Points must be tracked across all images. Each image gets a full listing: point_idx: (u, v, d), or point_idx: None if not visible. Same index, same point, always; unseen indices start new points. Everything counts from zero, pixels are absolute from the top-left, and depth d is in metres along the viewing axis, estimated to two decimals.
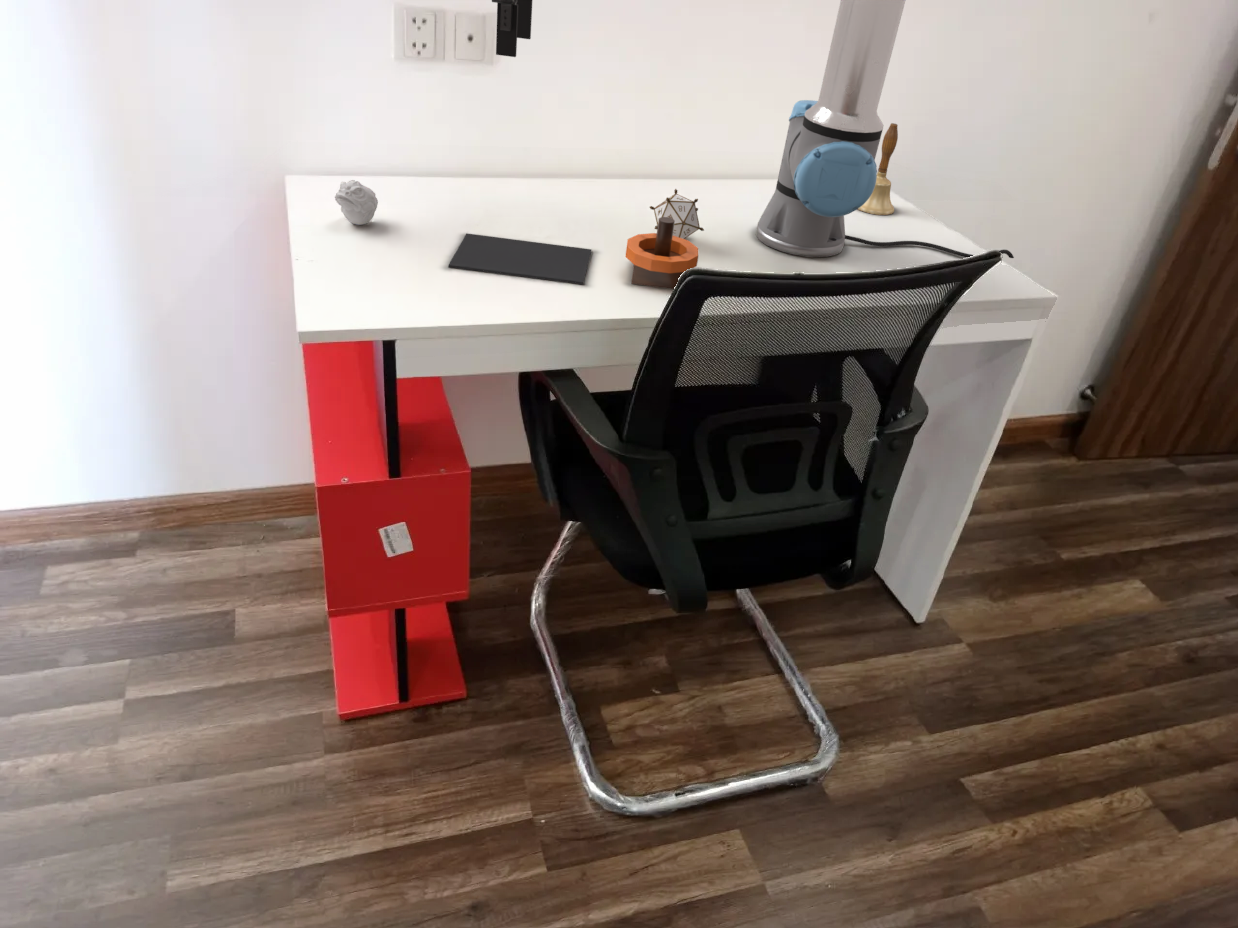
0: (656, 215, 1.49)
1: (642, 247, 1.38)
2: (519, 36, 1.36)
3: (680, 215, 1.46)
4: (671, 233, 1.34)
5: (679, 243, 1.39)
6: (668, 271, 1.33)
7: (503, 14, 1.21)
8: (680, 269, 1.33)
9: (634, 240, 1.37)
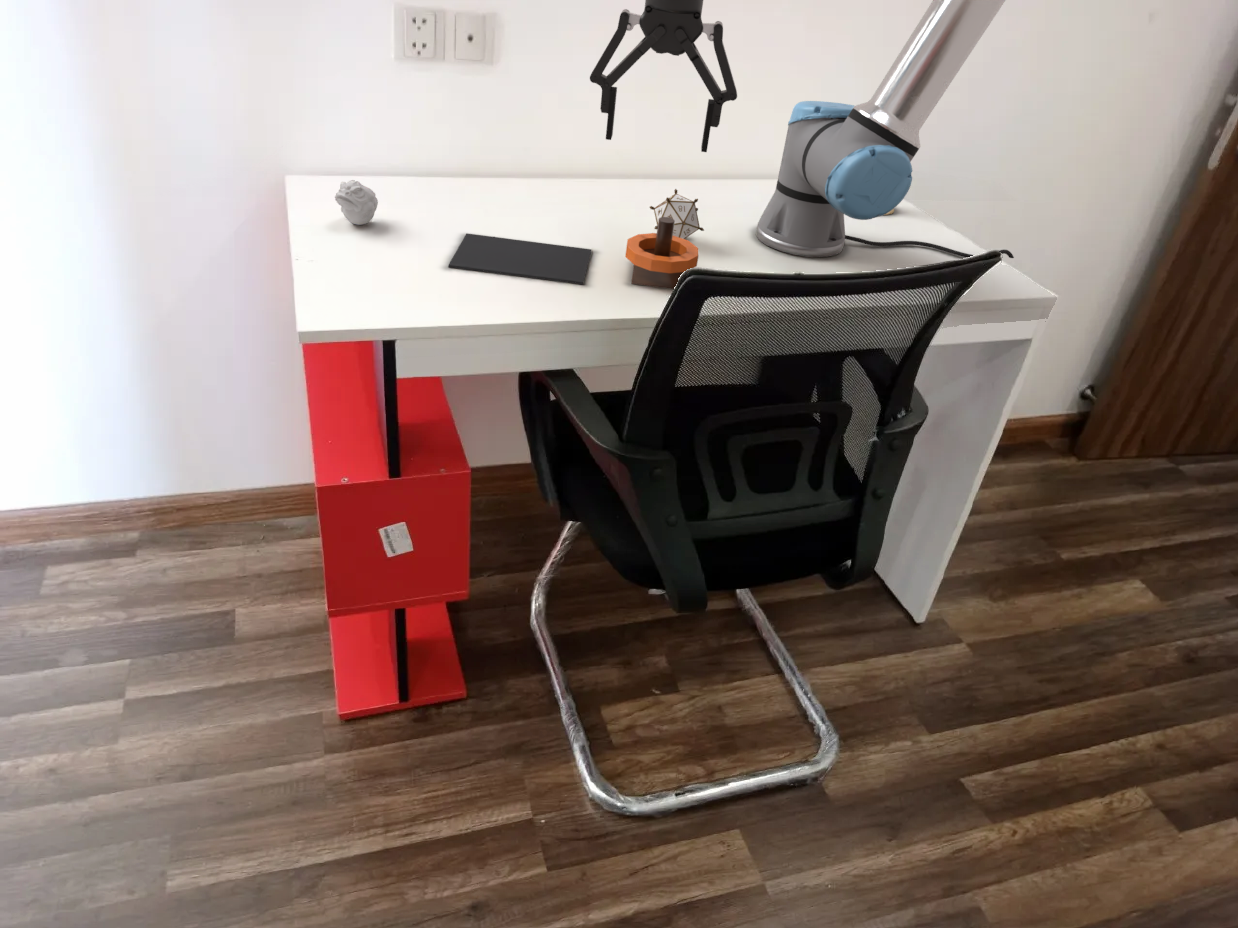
0: (656, 215, 1.49)
1: (642, 247, 1.38)
2: (701, 146, 1.29)
3: (680, 215, 1.46)
4: (671, 233, 1.34)
5: (679, 243, 1.39)
6: (668, 271, 1.33)
7: None
8: (680, 269, 1.33)
9: (634, 240, 1.37)
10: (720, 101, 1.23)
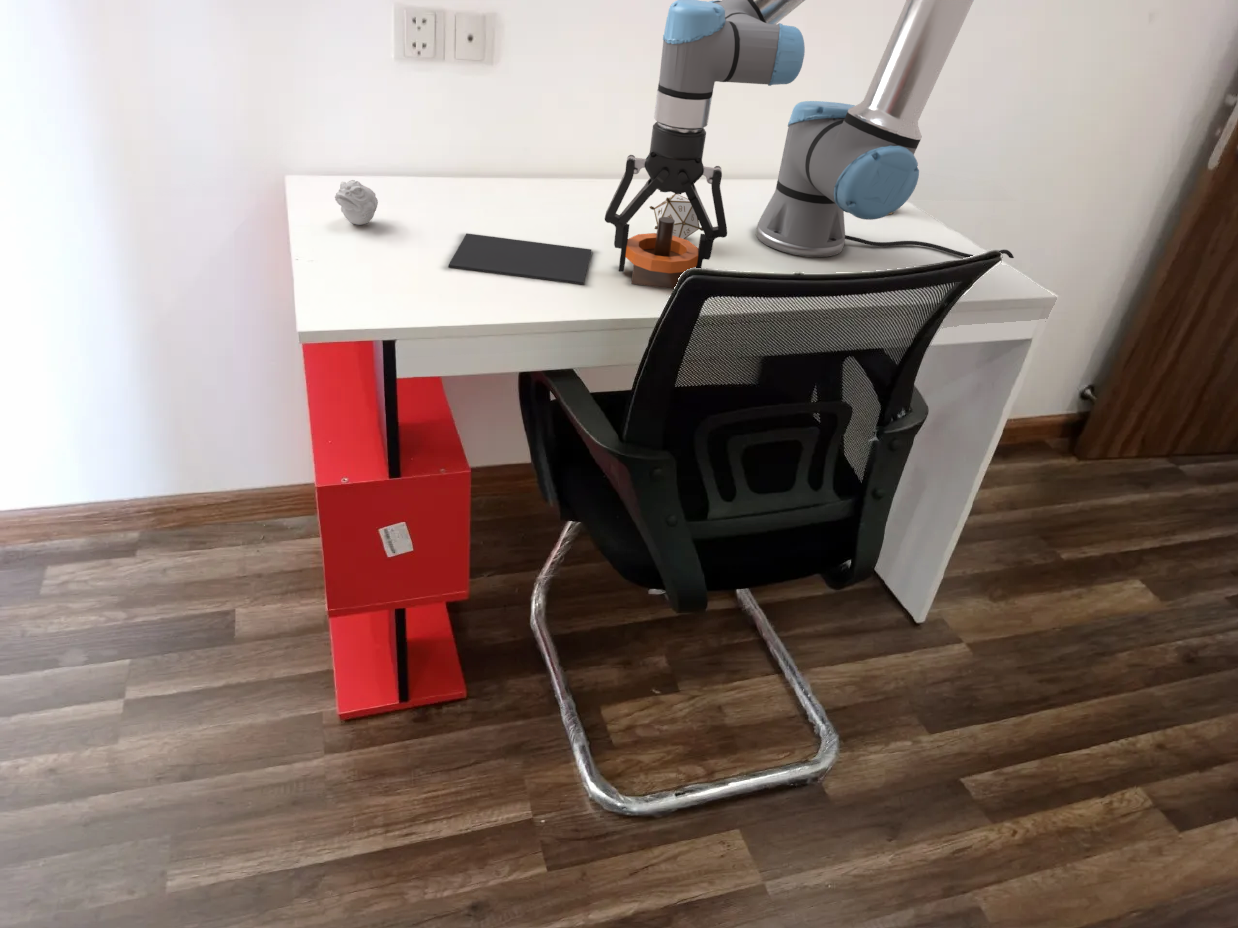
0: (656, 215, 1.49)
1: (642, 247, 1.38)
2: None
3: (680, 215, 1.46)
4: (671, 233, 1.34)
5: (679, 243, 1.39)
6: (668, 271, 1.33)
7: None
8: (680, 269, 1.33)
9: (634, 240, 1.37)
10: (711, 239, 1.33)
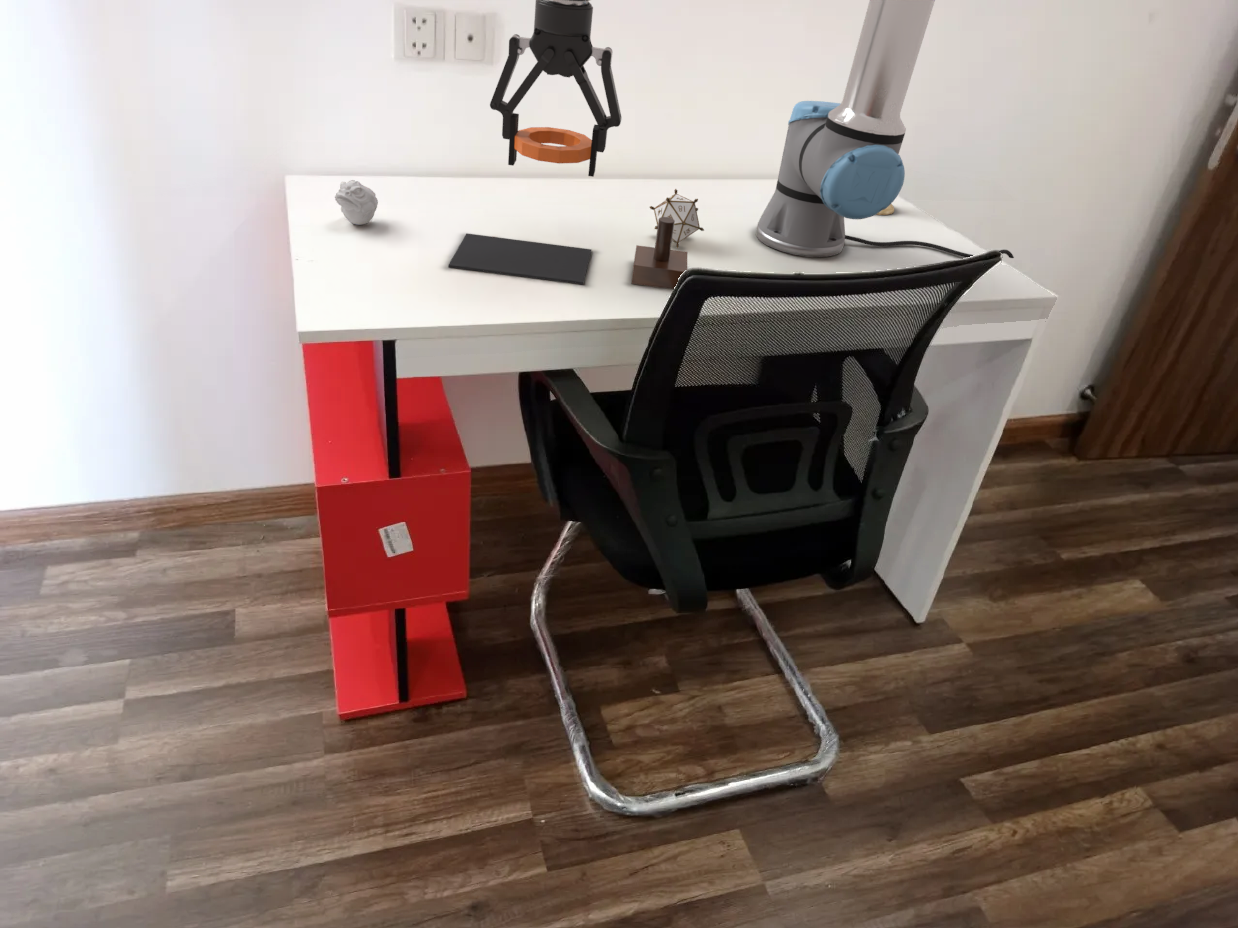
0: (656, 215, 1.49)
1: (534, 140, 1.30)
2: None
3: (680, 215, 1.46)
4: (671, 233, 1.34)
5: (573, 136, 1.30)
6: (557, 161, 1.25)
7: None
8: (570, 159, 1.25)
9: (524, 132, 1.29)
10: (603, 127, 1.25)
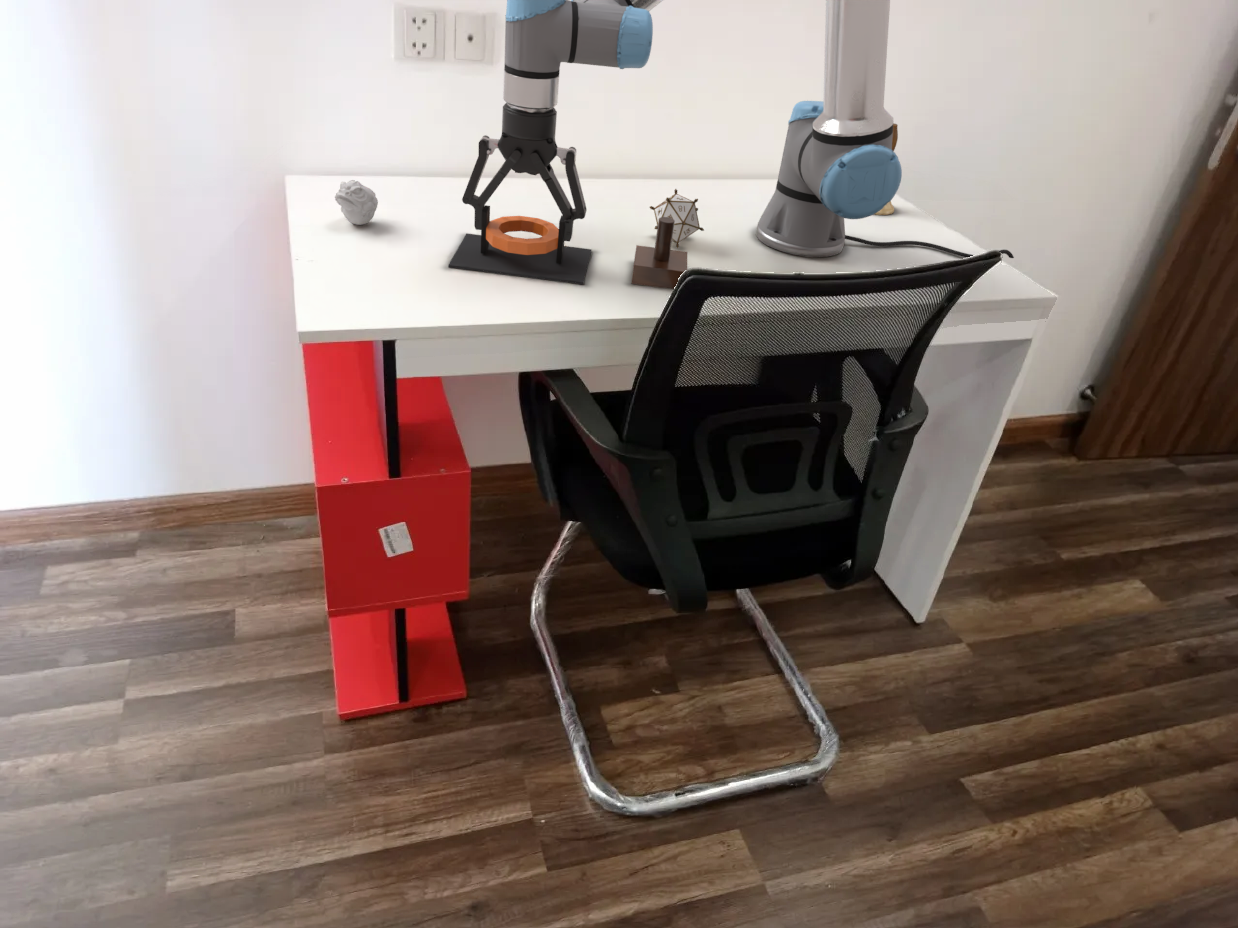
0: (656, 215, 1.49)
1: (505, 229, 1.38)
2: None
3: (680, 215, 1.46)
4: (671, 233, 1.34)
5: (542, 226, 1.38)
6: (525, 253, 1.32)
7: None
8: (538, 251, 1.33)
9: (496, 222, 1.37)
10: (569, 220, 1.33)
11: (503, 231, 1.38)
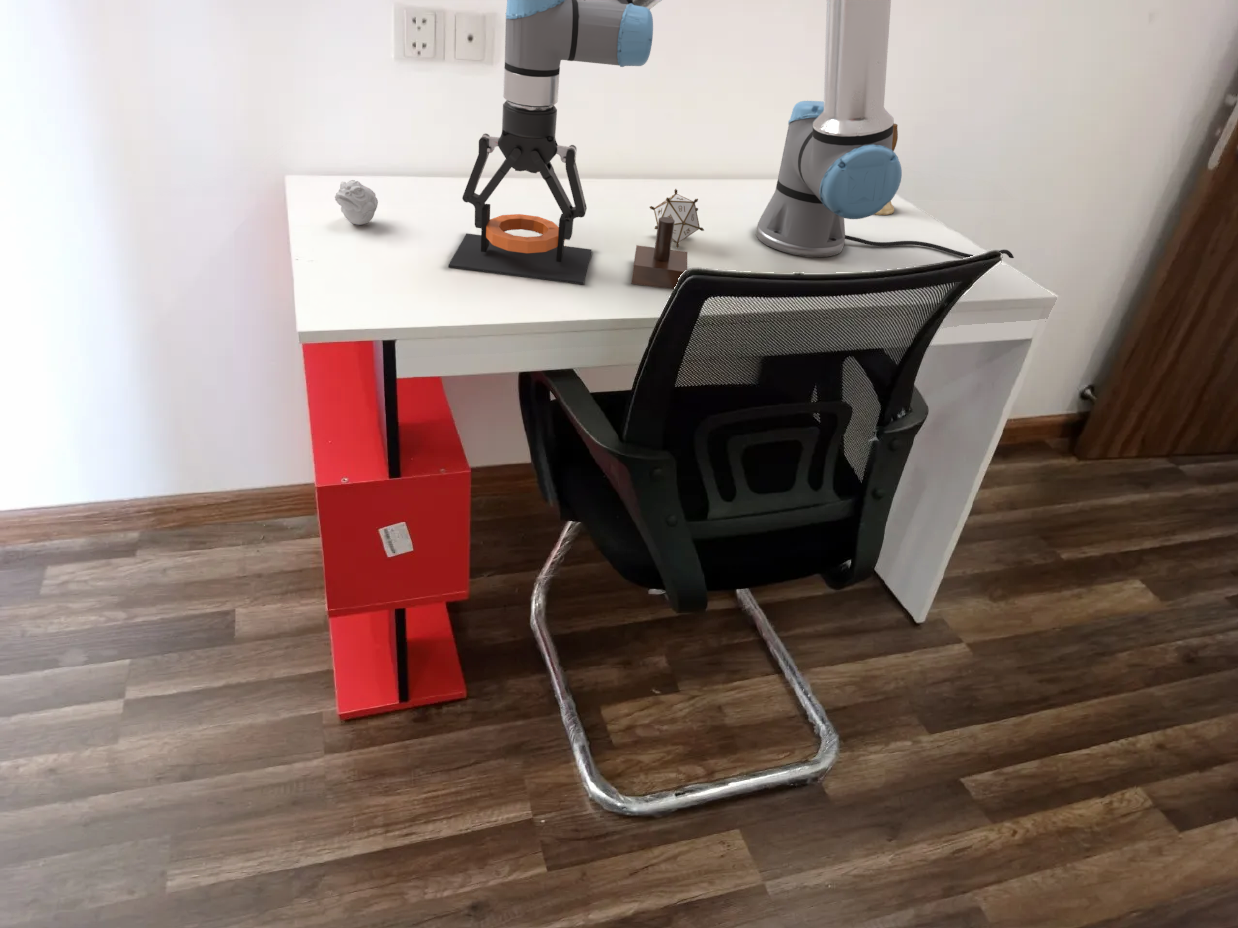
0: (656, 215, 1.49)
1: (505, 228, 1.38)
2: None
3: (680, 215, 1.46)
4: (671, 233, 1.34)
5: (542, 224, 1.38)
6: (525, 251, 1.32)
7: None
8: (538, 249, 1.33)
9: (496, 220, 1.37)
10: (569, 218, 1.33)
11: (503, 229, 1.38)
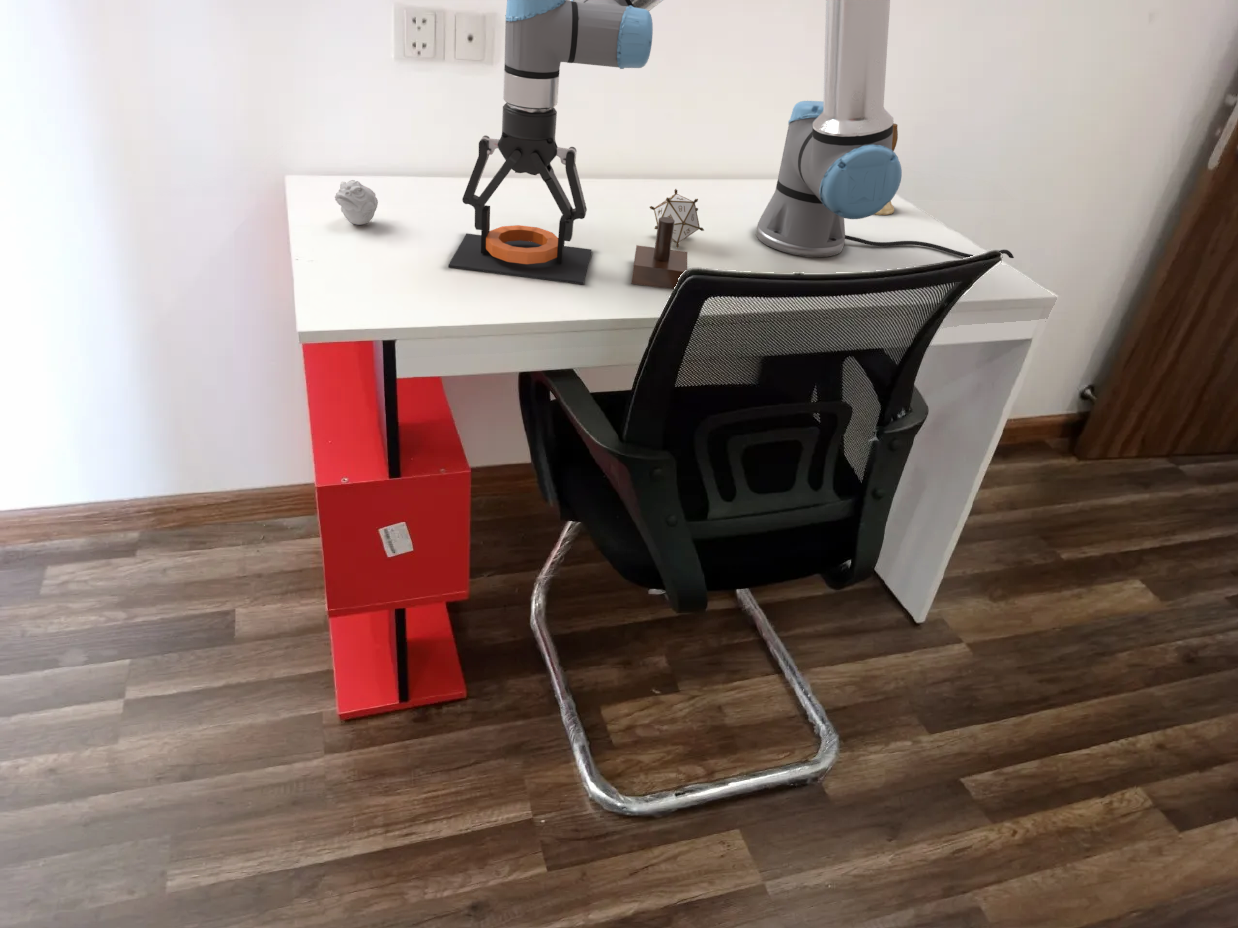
0: (656, 215, 1.49)
1: (505, 239, 1.39)
2: None
3: (680, 215, 1.46)
4: (671, 233, 1.34)
5: (542, 235, 1.39)
6: (525, 262, 1.33)
7: None
8: (537, 260, 1.34)
9: (495, 232, 1.38)
10: (569, 220, 1.33)
11: (503, 241, 1.39)
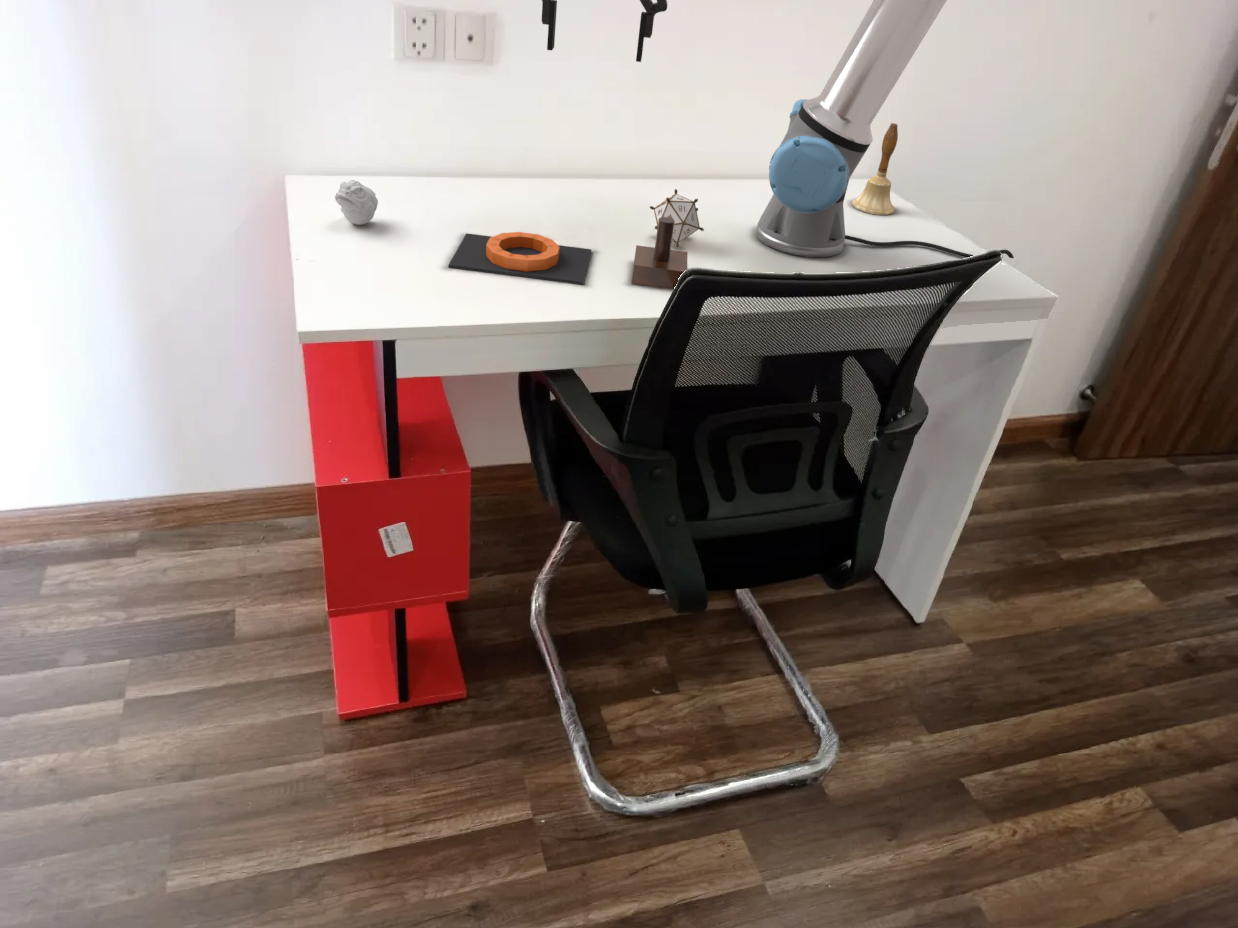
0: (656, 215, 1.49)
1: (505, 246, 1.40)
2: None
3: (680, 215, 1.46)
4: (671, 233, 1.34)
5: (542, 242, 1.40)
6: (525, 269, 1.34)
7: None
8: (537, 267, 1.35)
9: (496, 239, 1.38)
10: (651, 12, 1.33)
11: (503, 247, 1.40)
